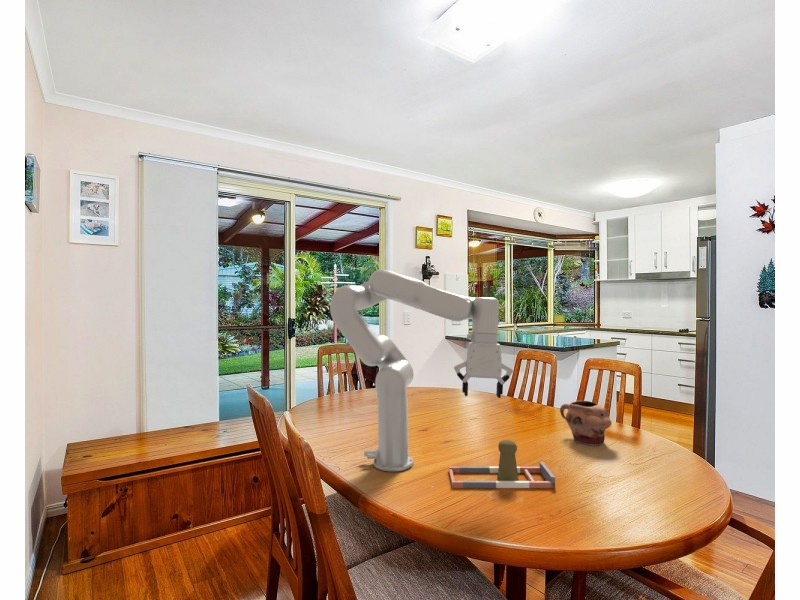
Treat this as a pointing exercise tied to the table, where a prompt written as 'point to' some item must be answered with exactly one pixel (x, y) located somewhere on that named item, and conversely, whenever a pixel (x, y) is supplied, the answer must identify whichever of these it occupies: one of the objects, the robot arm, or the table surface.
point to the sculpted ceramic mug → (586, 421)
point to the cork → (507, 461)
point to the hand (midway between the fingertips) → (482, 395)
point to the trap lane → (503, 484)
